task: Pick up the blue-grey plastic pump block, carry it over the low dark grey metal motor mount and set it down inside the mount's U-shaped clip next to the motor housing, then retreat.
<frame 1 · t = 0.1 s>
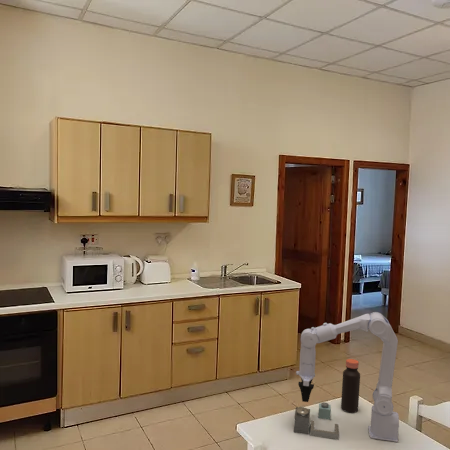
hand: (305, 396, 168), 10 cm above the table, fingers open, 7 cm apart
motor mount: (324, 431, 163), on the table
bottle: (349, 409, 182), on the table
pump: (324, 416, 175), on the table
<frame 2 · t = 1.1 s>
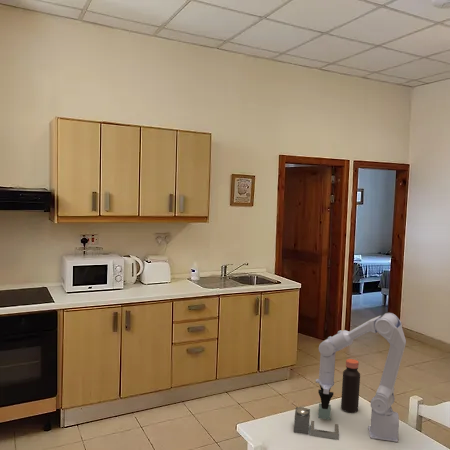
hand: (324, 404, 175), 5 cm above the table, fingers open, 7 cm apart
nothing on the table moved.
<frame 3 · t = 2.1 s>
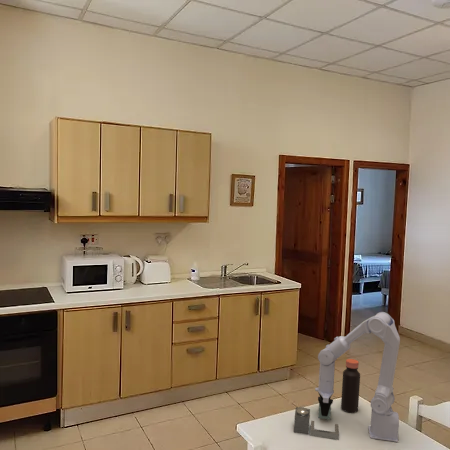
hand: (324, 412, 175), 1 cm above the table, fingers closed on pump, 4 cm apart
pump: (324, 416, 175), on the table, touching gripper
everything else where it was.
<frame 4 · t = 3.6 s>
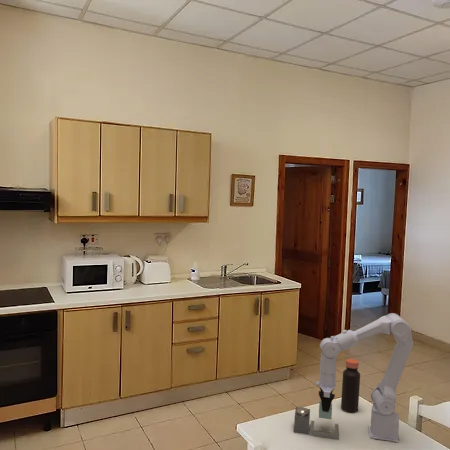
hand: (325, 408, 164), 8 cm above the table, fingers closed on pump, 4 cm apart
pump: (325, 415, 164), point 6 cm above the table, touching gripper
everything else where it was.
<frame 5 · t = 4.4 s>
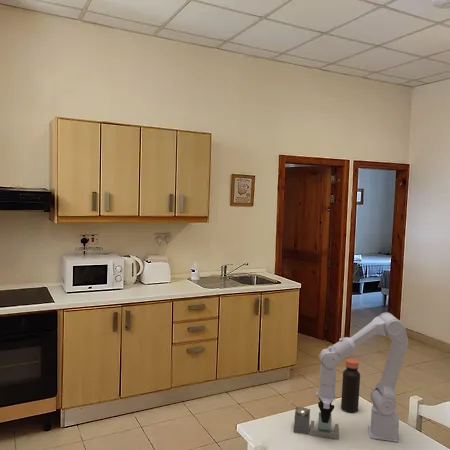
hand: (325, 419, 163), 5 cm above the table, fingers closed on pump, 4 cm apart
pump: (324, 426, 163), point 2 cm above the table, touching gripper
everything else where it was.
when the fingers open (3 cm above the table, at t = 5.2 s): pump stays where it is, on the table.
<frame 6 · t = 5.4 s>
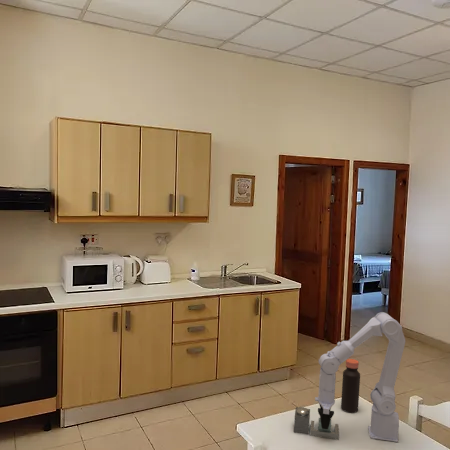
hand: (324, 424, 163), 3 cm above the table, fingers open, 6 cm apart
pump: (324, 432, 163), on the table
everything else where it was.
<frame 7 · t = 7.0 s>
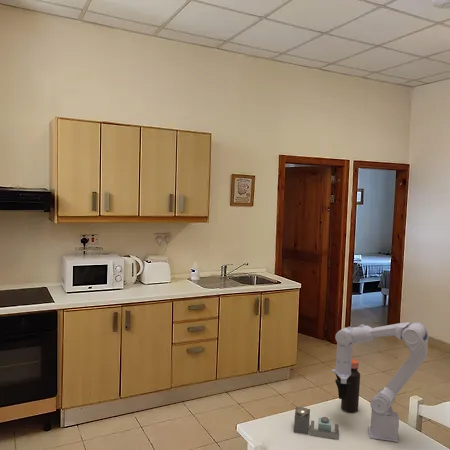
hand: (341, 394, 171), 10 cm above the table, fingers open, 7 cm apart
nothing on the table moved.
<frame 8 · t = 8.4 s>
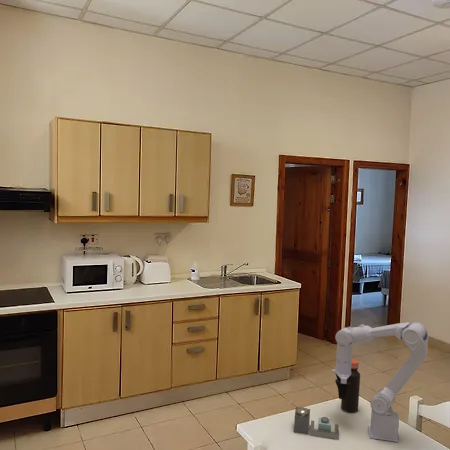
hand: (341, 394, 171), 10 cm above the table, fingers open, 7 cm apart
nothing on the table moved.
at the end: pump 0.0 cm from the target spot, on the table; pump tilted 0°; the gripper is holding nothing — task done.
